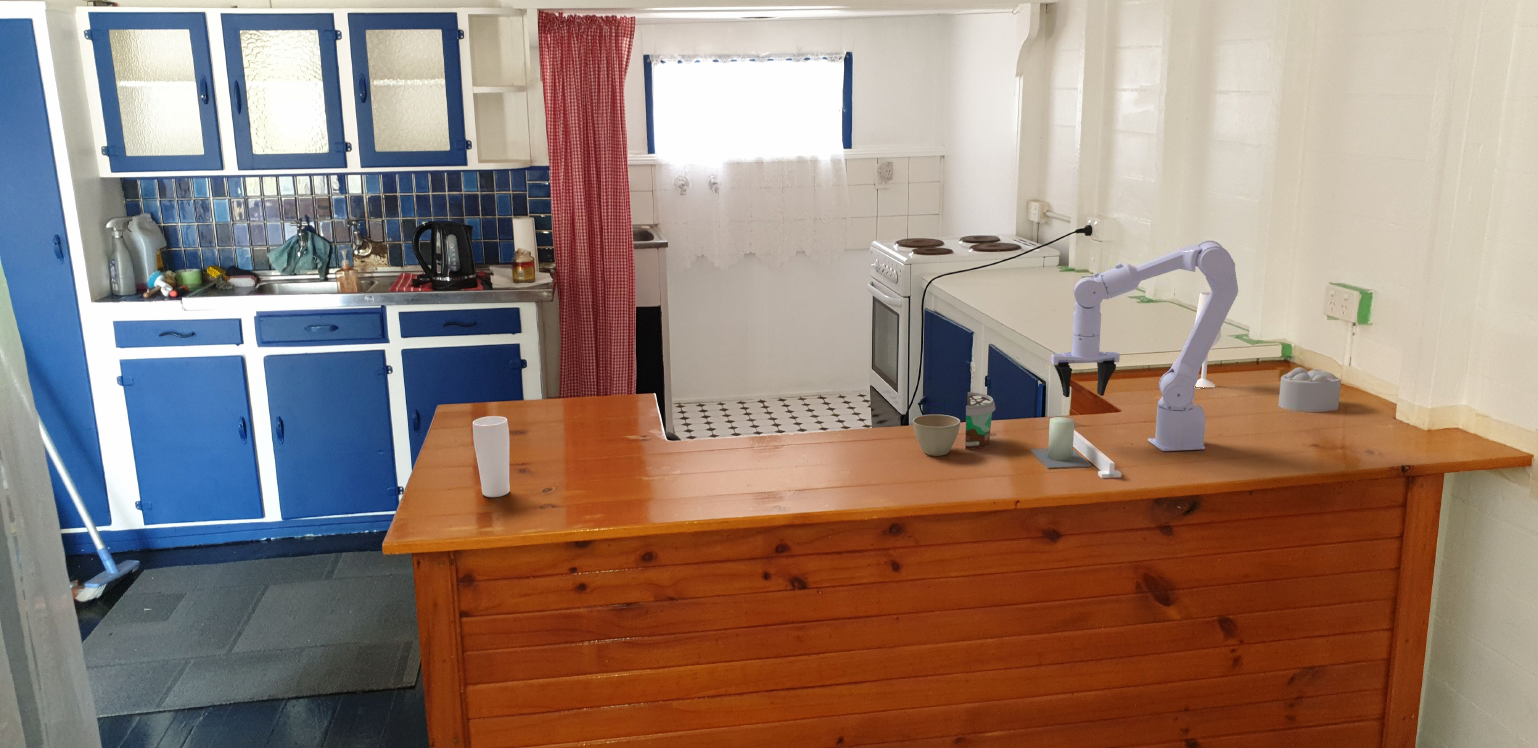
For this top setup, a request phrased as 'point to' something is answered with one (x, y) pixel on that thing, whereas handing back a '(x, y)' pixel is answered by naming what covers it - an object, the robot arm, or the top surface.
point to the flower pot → (936, 433)
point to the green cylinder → (1061, 438)
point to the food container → (978, 420)
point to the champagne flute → (1203, 381)
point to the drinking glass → (492, 454)
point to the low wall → (1095, 457)
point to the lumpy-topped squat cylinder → (1309, 391)
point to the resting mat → (1053, 464)
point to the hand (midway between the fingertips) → (1083, 395)
